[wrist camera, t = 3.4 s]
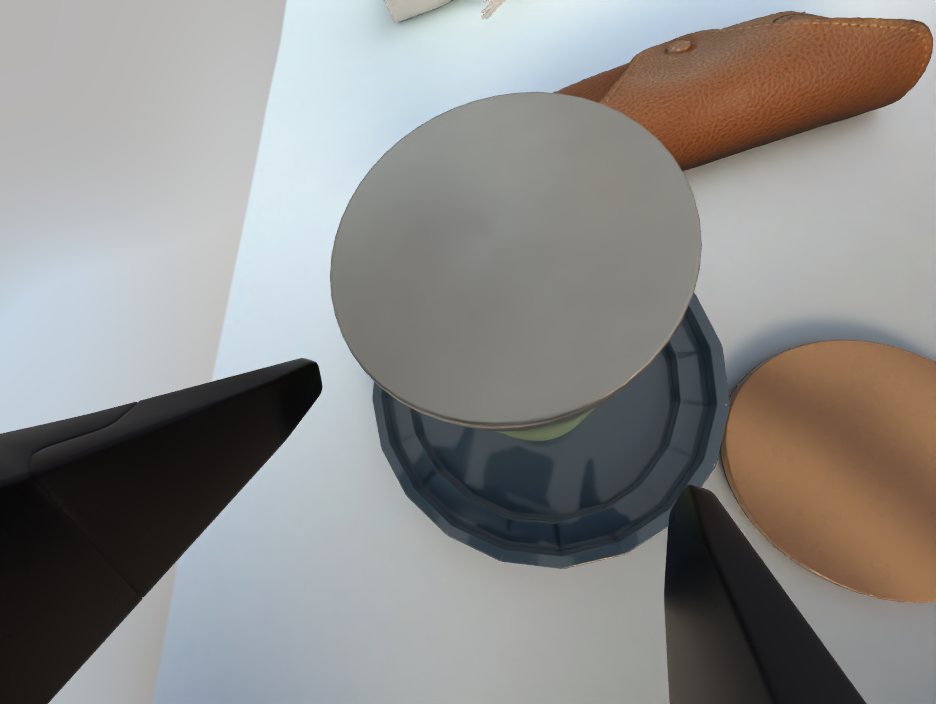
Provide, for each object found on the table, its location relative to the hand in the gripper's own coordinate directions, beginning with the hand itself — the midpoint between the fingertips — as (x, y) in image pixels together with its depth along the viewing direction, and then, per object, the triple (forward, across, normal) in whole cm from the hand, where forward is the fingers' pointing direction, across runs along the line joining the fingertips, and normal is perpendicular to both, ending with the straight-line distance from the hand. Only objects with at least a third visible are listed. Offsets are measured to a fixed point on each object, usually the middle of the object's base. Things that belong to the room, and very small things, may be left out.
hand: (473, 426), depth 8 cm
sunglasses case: (+21, -3, -6) cm, 22 cm away
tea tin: (+9, 0, +5) cm, 10 cm away
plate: (+10, 0, +5) cm, 11 cm away
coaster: (+10, -14, +5) cm, 17 cm away
